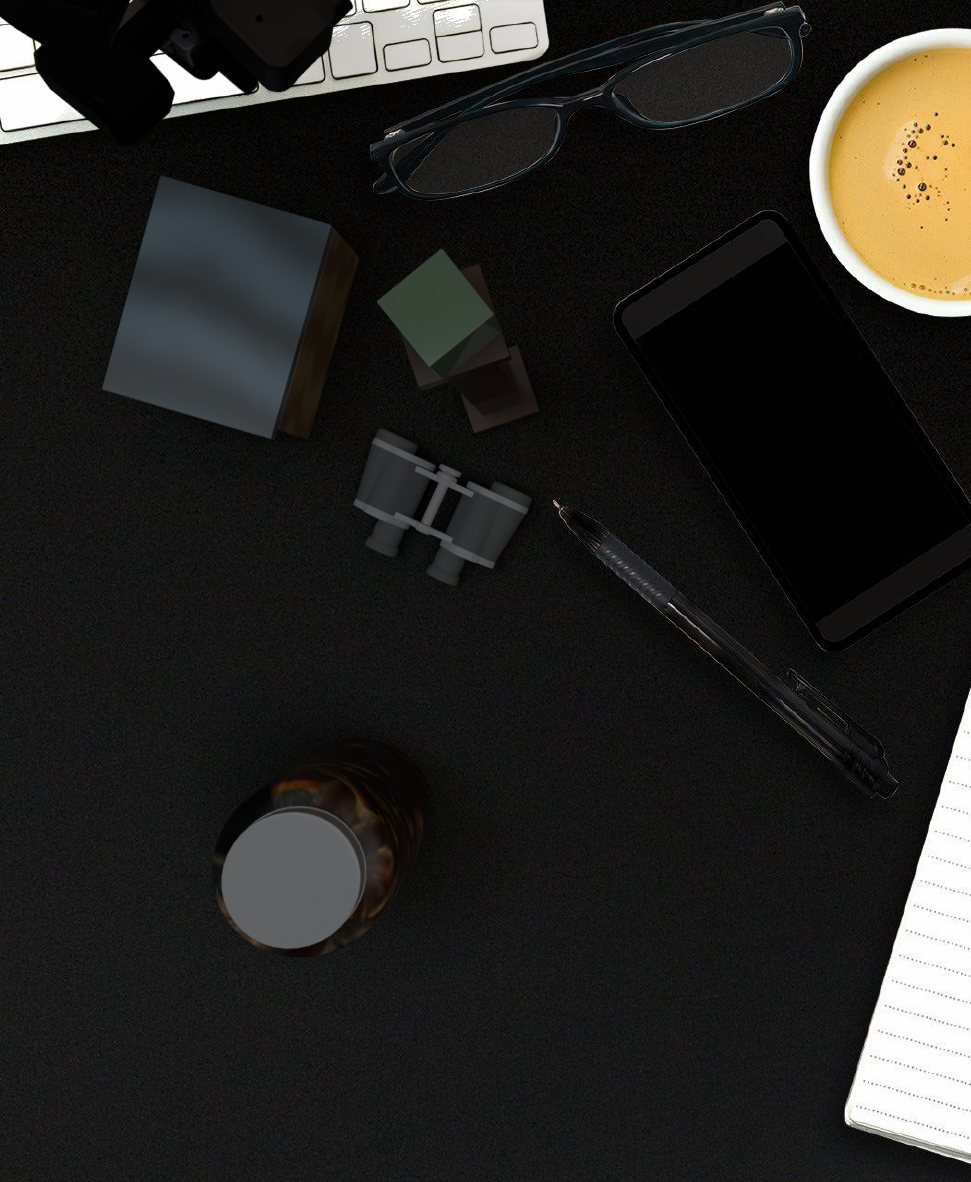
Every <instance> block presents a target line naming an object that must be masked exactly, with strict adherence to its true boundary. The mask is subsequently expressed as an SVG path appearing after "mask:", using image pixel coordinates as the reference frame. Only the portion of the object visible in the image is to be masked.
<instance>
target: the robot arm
mask: <svg viewBox="0 0 971 1182" xmlns="http://www.w3.org/2000/svg"><path fill="white" fill-rule="evenodd" d="M353 9H354V4H353V1H352V0H0V18H1V20H3V21H4V22H6V23H7V24H9V25H10V26H11V27H12V28H14V29H15V30H17V31H18V32H20V33H21V34H23V35H25V36H26V37H28V38H30V39H31V40H33V41H35V42H37V43H38V44H41V45H40V46H38V48H37V49H35V51H33V53H32V54H33V61H34V67H35V68H34V69H35V71H36V73H37V74H38V75H39V76H40V78H41V79H42V81H44V84H45V85H46V87H48V89H49V90H50V91H51V92H52V93H54V94H55V95H56V96H58V98H60V99H61V101H63V102H65V103H66V104H67V105H69V107H71V108H72V109H73V110H75V111H76V112H77V113H79V115H81V116H82V117H83V118H84V119H85V120H87V121H88V122H90V124H92V125H93V126H95V127H96V128H97V129H99V130H100V131H101V132H102V133H103V134H104V135H105V136H107V137H108V138H109V139H110V140H112V141H113V142H114V143H115V144H116V145H118V146H119V147H122V148H123V147H135V146H136V147H137V145H138V144H140V143H141V141H142V140H144V139H145V138H146V137H147V136H148V135H149V134H150V133H151V132H152V131H153V130H154V129H155V128H156V127H157V126H158V125H159V124H160V123H161V122H162V121H163V120H164V119H165V118H166V117H167V116H168V115H169V114H170V113H171V110H172V106H173V103H174V99H175V95H176V92H175V89H174V88H173V86H172V84H171V82H170V81H169V79H168V78H167V76H166V75H164V73H163V72H162V71H161V70H160V69H159V68H158V67H157V65H156V64H155V63H154V61H153V60H151V58H152V57H153V56H154V55H155V54H156V53H157V52H158V51H160V52H162V54H164V55H165V56H167V58H169V59H171V60H172V61H173V62H174V63H175V64H177V65H178V66H179V67H180V68H182V69H183V70H184V71H186V73H188V74H189V75H191V76H192V77H193V78H195V79H197V80H200V81H209V80H212V79H213V78H214V77H215V76H216V75H217V74H218V73H220V74H221V75H222V76H223V77H224V78H225V79H227V81H229V82H230V83H231V84H232V85H234V86H235V87H236V88H237V89H238V90H240V91H241V92H242V93H244V95H246V96H247V97H248V96H250V95H251V94H252V93H253V92H254V91H255V90H256V89H257V88H258V87H259V86H258V85H259V84H260V85H261V87H263V88H264V89H265V90H268V91H269V92H273V93H283V92H284V93H285V92H286V91H288V90H290V89H291V88H292V87H293V86H294V85H295V84H297V82H298V80H299V79H300V78H301V77H302V76H303V75H304V74H305V73H306V72H307V71H308V70H309V69H310V68H311V67H312V66H313V64H315V63H316V62H317V60H319V59H320V58H321V57H323V56H324V55H325V54H327V52H328V51H329V50H330V48H331V46H332V41H333V36H334V35H333V34H334V28H335V27H336V26H337V25H338V24H339V23H340V22H341V21H342V20H343V19H344V18H345V17H346V16H347V15H348V14H349V13H350V12H351V11H352V10H353Z"/></svg>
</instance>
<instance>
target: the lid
mask: <svg viewBox="0 0 971 1182" xmlns="http://www.w3.org/2000/svg"><path fill="white" fill-rule="evenodd" d="M334 229H335V228H334V227H333V225H332V224H328V223H326V222H323V221H320V220H316V219H313V218H310V217H305V216H302V215H299V214H295V213H291V212H288V211H285V210H281V209H278V208H275V207H271V206H268V205H264V204H261V203H258V202H254V201H250V200H247V199H243V198H241V197H240V198H239V197H237V196H234V195H230V194H227V193H223V192H221V191H220V192H219V191H216V190H214V189H213V190H212V189H210V188H206V187H202V186H199V185H195V184H192V183H189V182H185V181H182V180H179V179H175V178H172V177H168V176H165V175H160V176H159V180H158V183H157V187H156V191H155V195H154V198H153V202H152V205H151V209H150V212H149V216H148V219H147V223H146V227H145V230H144V233H143V238H142V242H141V245H140V248H139V252H138V256H137V259H136V263H135V267H134V270H133V274H132V278H131V281H130V285H129V289H128V292H127V296H126V300H125V302H124V307H123V310H122V314H121V317H120V321H119V325H118V329H117V332H116V336H115V339H114V343H113V347H112V351H111V353H110V358H109V362H108V365H107V369H106V372H105V375H104V380H103V383H102V387H101V390H102V391H105V392H107V393H111V394H114V395H117V396H122V397H125V398H128V399H130V400H135V401H139V402H142V403H145V404H149V405H152V406H156V407H159V408H163V409H166V410H169V411H173V412H176V413H178V414H179V413H180V414H183V415H186V416H189V417H193V418H197V419H200V420H203V421H206V422H209V423H210V422H211V423H213V424H217V425H220V426H224V427H227V428H230V429H234V430H237V431H239V432H240V431H241V432H245V433H248V434H251V435H254V436H258V437H260V438H265V439H267V440H271V441H275V440H276V437H277V434H278V432H279V431H278V427H279V423H280V420H281V416H282V413H283V409H284V406H285V402H286V399H287V395H288V391H289V388H290V384H291V381H292V377H293V374H294V370H295V367H296V363H297V360H298V356H299V352H300V349H301V345H302V342H303V338H304V335H305V331H306V328H307V324H308V321H309V317H310V313H311V310H312V306H313V303H314V299H315V296H316V292H317V289H318V285H319V281H320V278H321V274H322V271H323V267H324V264H325V260H326V257H327V253H328V250H329V246H330V242H331V239H332V235H333V232H334Z"/></svg>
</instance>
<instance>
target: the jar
mask: <svg viewBox="0 0 971 1182" xmlns="http://www.w3.org/2000/svg"><path fill="white" fill-rule="evenodd" d="M432 802H433V801H432V797H431V793H430V790H429V788H428V785H427V783H426V781H425V779H424V777H423V775H422V774H421V772H420V770H419V769H418V768H417V767H416V766H415V764H414V763H413V762H412V761H410V759H408V758H407V756H405V755H403V753H401V752H399V751H398V750H396V749H394V748H393V747H391V746H389V745H387V744H384V743H380V742H377V741H373V740H368V739H344V740H339V741H335V742H334V741H333V742H331V743H328V744H325V745H323V746H320V747H319V748H317V749H315V750H313V751H311V752H309V753H308V754H306V755H305V756H303V757H301V758H299V759H298V760H296V761H295V762H294V763H292V764H290V765H289V766H287V767H286V768H285V769H283V770H282V771H280V772H279V773H277V774H275V775H274V776H273V777H271V778H270V779H268V780H267V781H266V782H264V783H263V784H262V785H260V786H259V787H257V788H256V789H255V790H254V791H252V792H251V793H250V794H249V795H248V796H246V797H245V798H244V799H243V800H242V801H241V802H240V803H239V805H237V807H236V808H235V809H234V810H233V812H232V813H231V815H230V816H229V817H228V818H227V820H226V821H225V823H224V825H223V827H222V828H221V830H220V833H219V834H218V837H217V841H216V843H215V846H214V849H213V855H212V863H211V880H212V885H213V886H212V887H213V891H214V894H215V898H216V901H217V904H218V906H219V909H220V910H221V912H222V915H223V916H224V918H225V919H226V921H227V922H228V924H230V926H231V927H232V928H233V929H234V930H235V932H237V933H238V935H240V936H241V938H243V939H244V940H246V941H247V942H249V943H250V944H251V945H254V947H257V948H259V949H260V950H263V951H264V952H268V953H271V954H274V955H277V956H282V957H287V958H301V959H302V958H314V957H319V956H324V955H327V954H332V953H334V952H337V951H339V950H341V949H343V948H345V947H347V946H349V945H350V944H353V942H355V941H356V940H358V939H359V938H360V937H362V936H363V935H365V934H366V933H367V932H368V931H369V930H370V929H371V928H372V927H373V926H374V925H375V924H376V923H377V922H378V921H379V919H381V917H382V916H383V915H384V913H385V912H386V911H387V910H388V908H389V907H390V905H391V904H392V902H393V901H394V899H395V898H396V897H397V896H398V894H399V892H400V891H401V890H402V888H403V886H404V885H405V883H406V882H407V880H408V879H409V877H410V875H412V872H413V871H414V869H415V868H416V866H417V864H418V863H419V861H420V860H421V858H422V856H423V854H424V853H425V850H426V848H427V845H428V843H429V841H430V836H431V832H432V828H433V819H434V817H433V815H434V811H433V803H432Z"/></svg>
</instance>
